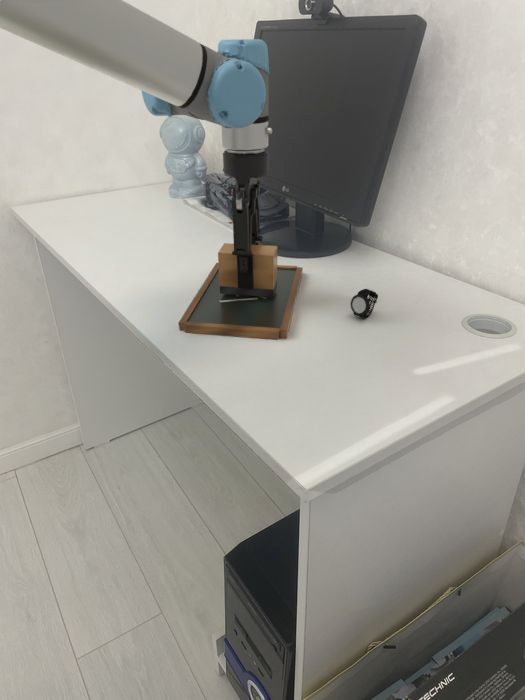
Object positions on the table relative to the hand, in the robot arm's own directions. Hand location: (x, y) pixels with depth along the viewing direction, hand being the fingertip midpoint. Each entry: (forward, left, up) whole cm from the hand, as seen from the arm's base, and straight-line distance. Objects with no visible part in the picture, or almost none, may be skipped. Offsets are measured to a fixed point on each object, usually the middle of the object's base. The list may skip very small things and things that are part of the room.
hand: (248, 281), depth 96 cm
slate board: (0, 0, -4) cm, 4 cm away
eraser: (0, 0, -2) cm, 2 cm away
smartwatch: (+22, -4, -4) cm, 22 cm away
